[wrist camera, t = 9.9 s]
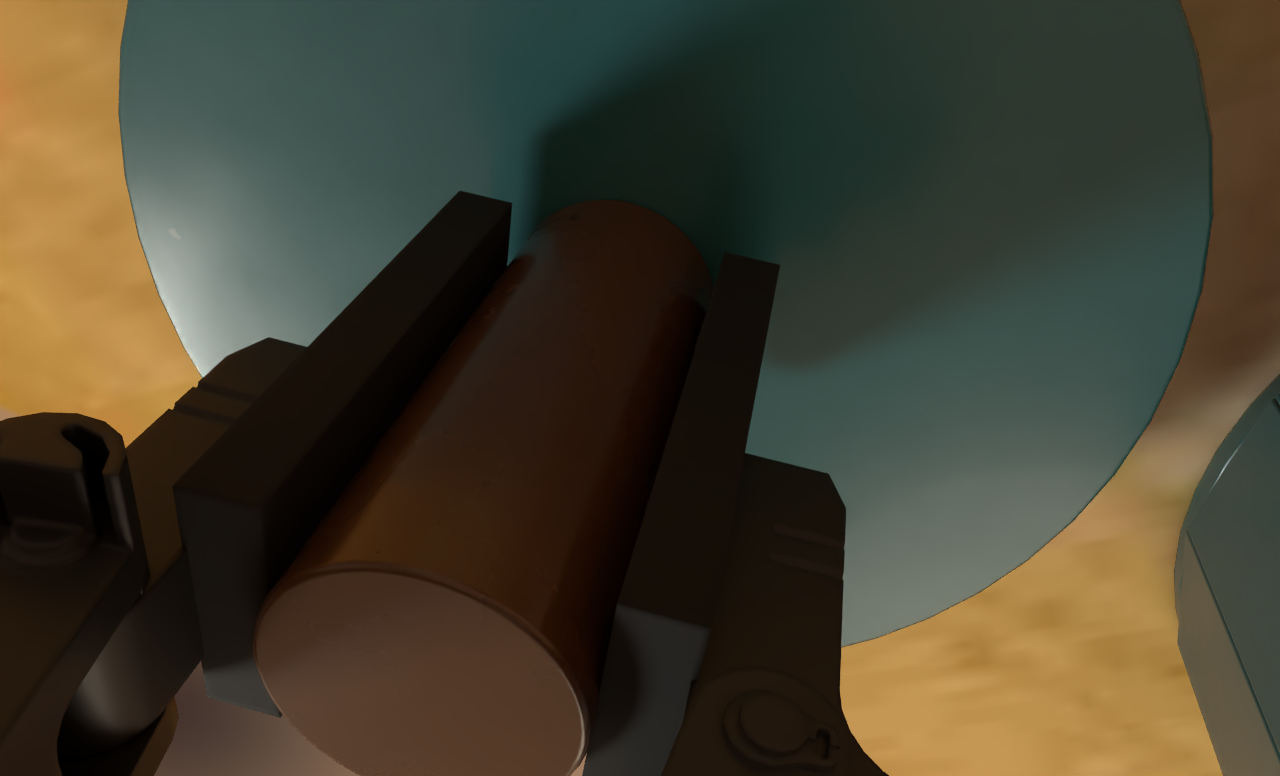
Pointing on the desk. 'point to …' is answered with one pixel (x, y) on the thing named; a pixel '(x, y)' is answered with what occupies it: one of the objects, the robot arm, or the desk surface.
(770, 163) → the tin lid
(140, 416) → the desk surface
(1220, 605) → the tin
